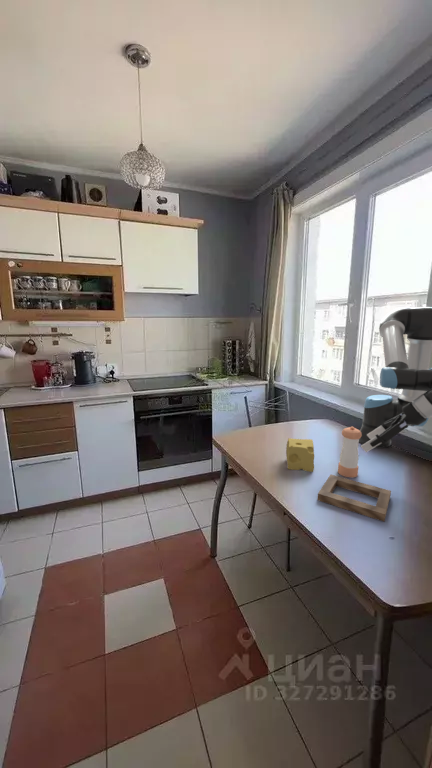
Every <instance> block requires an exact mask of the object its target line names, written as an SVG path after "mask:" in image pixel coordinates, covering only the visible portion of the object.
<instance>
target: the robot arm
mask: <svg viewBox="0 0 432 768" xmlns="http://www.w3.org/2000/svg"><path fill="white" fill-rule="evenodd" d="M378 329H379V335H380V337H381V338H382V344H383V345H382V346H383V355H384V366H385V367H382V368H381V369H380V373H379V385H380V387H381V388H385V389H391V390H402V393H400V394H399V395H398V397H397V399H395V398H393V396H392V395H389V394H388V395H387V394H374V395H369V396H367V397H366V398H365V400H364V405H363V417H362V424H361V427H360V429H359V430H360V431H361V434H362V436H361V438H360V439H359V443H360V444H361V445H360V447H361V448H362V450H363V451H364V453H368V452H369V451H371V450H373V449H375V448H377V449H378V448H381V449H382V448H389V447H391V445H392V438H394V437H395V436H396V435H398V434H399V433H401V432H403V430H405V429H408V428H409V427H419V428H420V427H424V426H425V425H426V424H427V423H428V421H429V419H431V418H432V367H430V364H431V359H432V358H431V357H432V306H425V307H421V306H420V307H419V306H418V307H414V306H413V307H398V308H395V309H393V310H391V311H389V313H387V314H386V315H385V316H383V318H382V319H381V320H380V324H379V328H378ZM404 335H406V339H407V341H408V342H409V346H408V347H409V348H408V354H407V349H406V343H405V337H404ZM388 446H389V447H388Z"/></svg>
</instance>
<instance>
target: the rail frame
mask: <svg viewBox="0 0 432 768" xmlns="http://www.w3.org/2000/svg"><path fill="white" fill-rule="evenodd" d="M337 487H338V488H341V489H345V490H347V491H348V490H349V491H352V492H354V493H359V494H363V495H365V496H370V497H372V498H376V499H377V501H376V504H375V505H373V504H370V503H366V502H364V501H360V500H356V499H353V498H350V497H346V496H343V495H340V494H337V493H334V491H335V489H336V488H337ZM391 495H392V490H390V489H387V488H382V487H379V486H375V485H371V484H367V483H364V482H360V481H358V480H357V481H356V480H353V479H349V478H347V477H343V476H337V475H334V474H329V476H328V478H327V479H326V481H325V482H324V483H323V485H322V486H321V488H320V490H318V493H317V501H319V502H322V503H325V504H326V505H327V504H328V505H331V506H333V507H334V506H335V507H338V508H340V509H344V510H347V511H350V512H353V513H355V514H359V515H362V516H365V517H368V518H371V519H374V520H376V521H377V520H378V521H381V522H384V523H385V520H386V517H387V513H388V509H389V504H390V500H391Z"/></svg>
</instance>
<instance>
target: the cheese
mask: <svg viewBox="0 0 432 768" xmlns="http://www.w3.org/2000/svg"><path fill="white" fill-rule="evenodd" d="M285 449H286V451H285V454H286V455H285V456H286V464H287V470H292V471H300V470H302V471H304V472H310V473H314V471H315V464H314V463H315V450H314V449H315V447H314V440H313V439H311V438H308V439H307V438H306V439H302V438H300V439H299V438H291V437H290V438H289V437H288V439H287V443H286V447H285Z"/></svg>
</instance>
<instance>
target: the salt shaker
mask: <svg viewBox="0 0 432 768" xmlns="http://www.w3.org/2000/svg"><path fill="white" fill-rule="evenodd" d="M341 435H342V436H343V441H342V442H343V443H342V447H341V452H340V454H339V462H338V467H337V473H338V474H339V475H340V476H341V477H344V478H357V477H358V475H359V443H360V442H359V439H360V438H361V436H362V434H361V431H360V429H357V428H356V427H354V426H349V427H345V428H343V429H342V430H341Z"/></svg>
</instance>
